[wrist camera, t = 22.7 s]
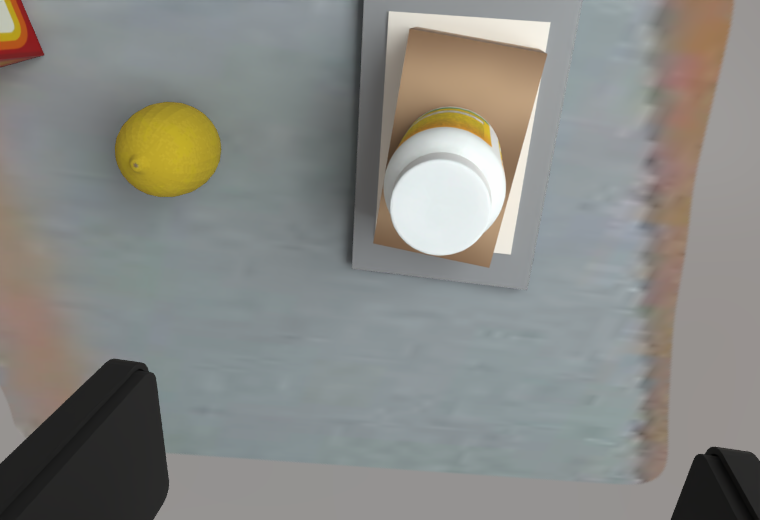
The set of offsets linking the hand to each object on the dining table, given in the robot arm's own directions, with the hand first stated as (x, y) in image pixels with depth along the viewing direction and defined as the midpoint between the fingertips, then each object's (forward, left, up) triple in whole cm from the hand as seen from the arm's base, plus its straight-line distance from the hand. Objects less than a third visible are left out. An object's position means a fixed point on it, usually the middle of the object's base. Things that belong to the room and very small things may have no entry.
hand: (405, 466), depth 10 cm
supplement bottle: (0, 0, -23) cm, 23 cm away
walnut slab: (0, 0, -27) cm, 27 cm away
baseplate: (0, 0, -28) cm, 28 cm away
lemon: (+2, -17, -28) cm, 33 cm away
